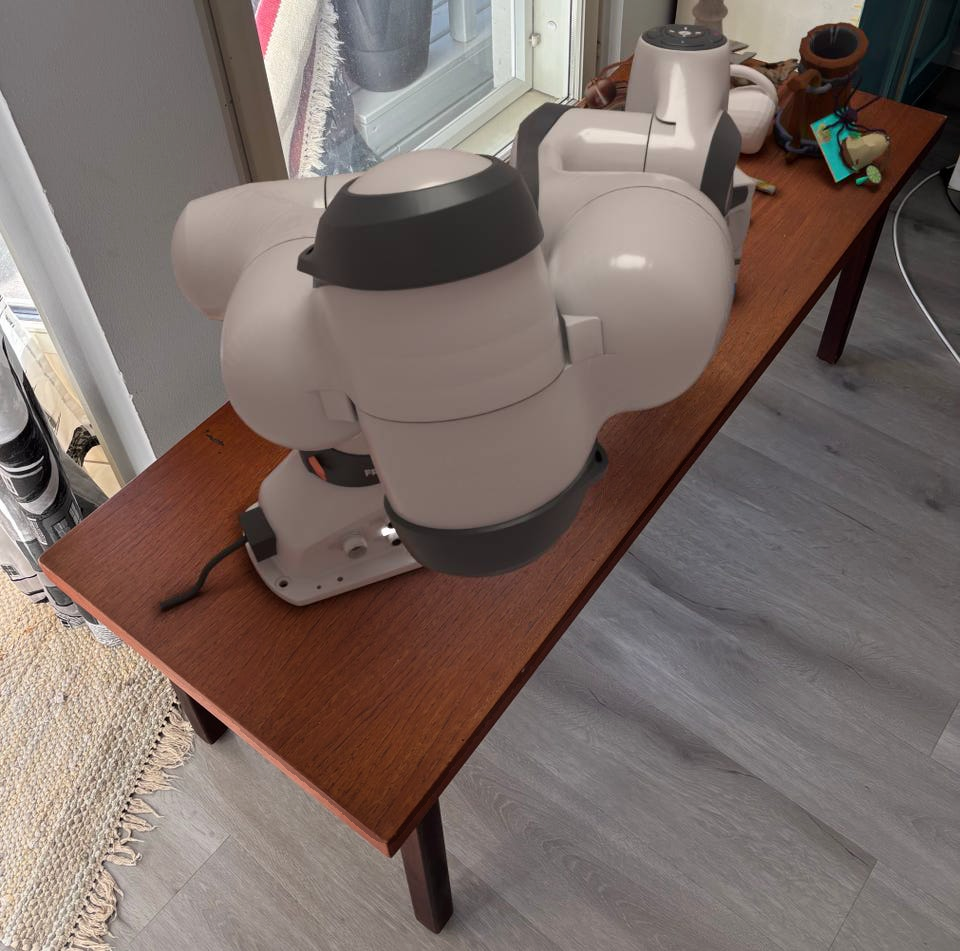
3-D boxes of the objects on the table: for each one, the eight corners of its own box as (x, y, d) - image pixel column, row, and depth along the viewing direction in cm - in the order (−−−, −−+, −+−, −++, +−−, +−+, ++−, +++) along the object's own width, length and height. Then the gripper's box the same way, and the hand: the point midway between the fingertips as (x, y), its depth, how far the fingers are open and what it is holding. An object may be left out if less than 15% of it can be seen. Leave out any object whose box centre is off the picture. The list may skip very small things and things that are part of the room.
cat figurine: (762, 145, 145) (667, 115, 147) (794, 65, 136) (691, 33, 138) (751, 174, 139) (651, 142, 142) (782, 92, 130) (675, 59, 132)
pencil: (651, 152, 139) (772, 195, 134) (653, 145, 138) (774, 188, 134) (654, 149, 140) (774, 192, 135) (656, 141, 139) (777, 184, 134)
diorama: (843, 200, 134) (877, 185, 129) (798, 98, 132) (830, 79, 127) (888, 174, 139) (922, 158, 134) (845, 75, 137) (878, 56, 132)
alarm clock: (585, 176, 139) (589, 77, 128) (575, 158, 142) (578, 59, 131) (658, 163, 140) (668, 63, 129) (646, 145, 143) (655, 46, 132)
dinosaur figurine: (797, 119, 147) (778, 90, 153) (815, 81, 143) (794, 53, 149) (714, 105, 144) (697, 76, 150) (730, 66, 140) (712, 38, 146)
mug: (812, 190, 135) (837, 88, 123) (736, 164, 139) (754, 63, 128) (865, 128, 143) (894, 28, 132) (792, 106, 148) (813, 7, 136)
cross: (673, 67, 158) (724, 82, 153) (674, 50, 156) (725, 65, 151) (713, 43, 162) (764, 57, 157) (714, 27, 160) (765, 41, 155)
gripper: (595, 256, 87) (589, 368, 98) (770, 178, 93) (746, 291, 104) (554, 220, 90) (553, 332, 101) (725, 148, 97) (707, 260, 107)
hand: (652, 311), depth 102 cm, fingers closed on fruit, 7 cm apart
